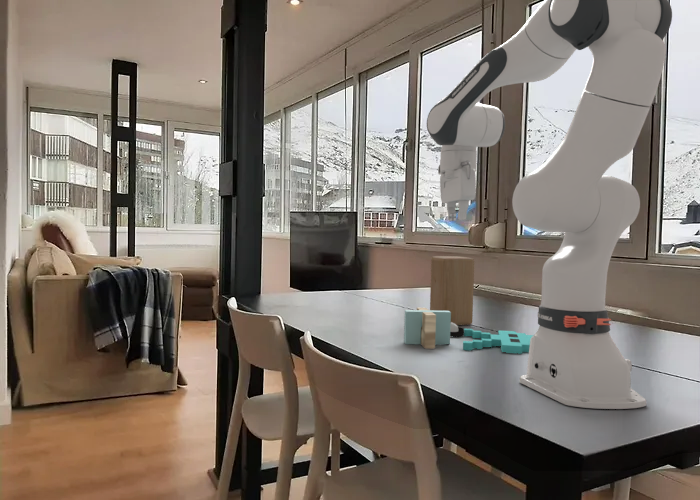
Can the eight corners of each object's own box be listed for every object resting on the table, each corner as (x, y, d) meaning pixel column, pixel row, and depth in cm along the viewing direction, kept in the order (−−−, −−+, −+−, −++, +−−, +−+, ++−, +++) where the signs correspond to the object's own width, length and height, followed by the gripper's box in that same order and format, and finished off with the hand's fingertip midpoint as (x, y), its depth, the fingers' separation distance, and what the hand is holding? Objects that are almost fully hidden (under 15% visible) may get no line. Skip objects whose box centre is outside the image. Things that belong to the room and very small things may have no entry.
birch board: (435, 348, 135) (436, 314, 135) (425, 348, 135) (425, 314, 135) (424, 338, 147) (425, 307, 147) (415, 338, 147) (416, 307, 147)
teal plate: (449, 344, 141) (450, 312, 140) (405, 344, 140) (406, 311, 140) (447, 342, 143) (448, 310, 143) (403, 342, 142) (404, 310, 142)
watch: (466, 336, 153) (467, 323, 153) (460, 339, 149) (460, 325, 149) (439, 333, 157) (440, 320, 157) (432, 335, 153) (433, 322, 153)
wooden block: (428, 320, 176) (430, 256, 176) (457, 320, 179) (459, 256, 179) (443, 326, 167) (445, 257, 166) (473, 325, 170) (475, 258, 169)
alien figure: (462, 351, 135) (552, 357, 131) (463, 342, 135) (552, 348, 131) (463, 336, 154) (541, 341, 150) (464, 328, 154) (542, 332, 150)
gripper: (483, 159, 132) (481, 219, 132) (460, 169, 152) (458, 221, 153) (456, 158, 131) (455, 219, 132) (436, 168, 152) (435, 220, 152)
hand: (456, 220), depth 142 cm, fingers open, 8 cm apart
